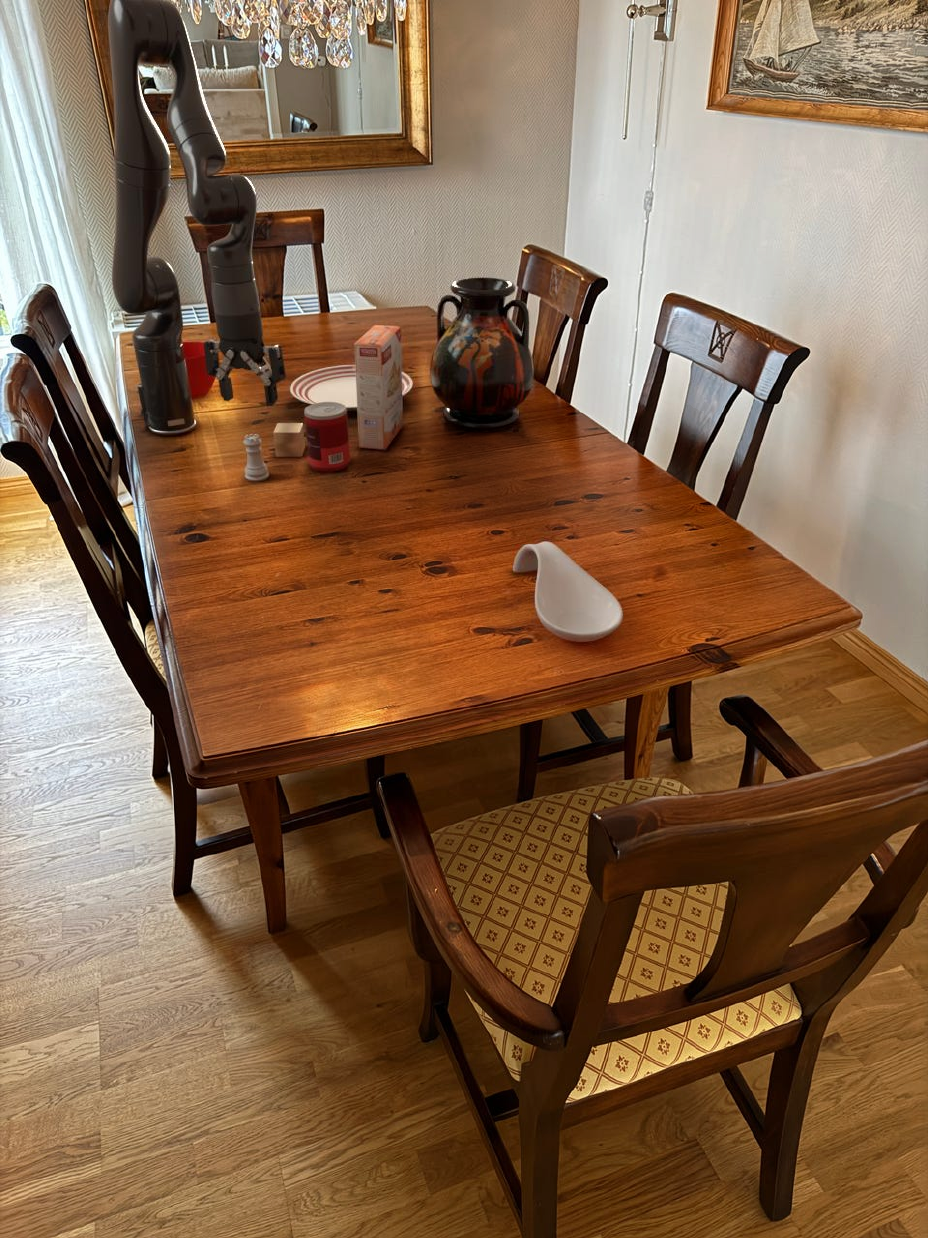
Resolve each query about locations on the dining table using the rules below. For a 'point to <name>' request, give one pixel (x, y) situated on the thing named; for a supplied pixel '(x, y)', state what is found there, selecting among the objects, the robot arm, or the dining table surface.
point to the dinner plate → (334, 386)
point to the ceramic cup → (197, 369)
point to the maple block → (289, 439)
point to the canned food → (327, 436)
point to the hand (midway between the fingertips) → (249, 402)
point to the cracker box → (379, 386)
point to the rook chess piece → (254, 460)
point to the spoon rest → (568, 595)
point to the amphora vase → (482, 357)
